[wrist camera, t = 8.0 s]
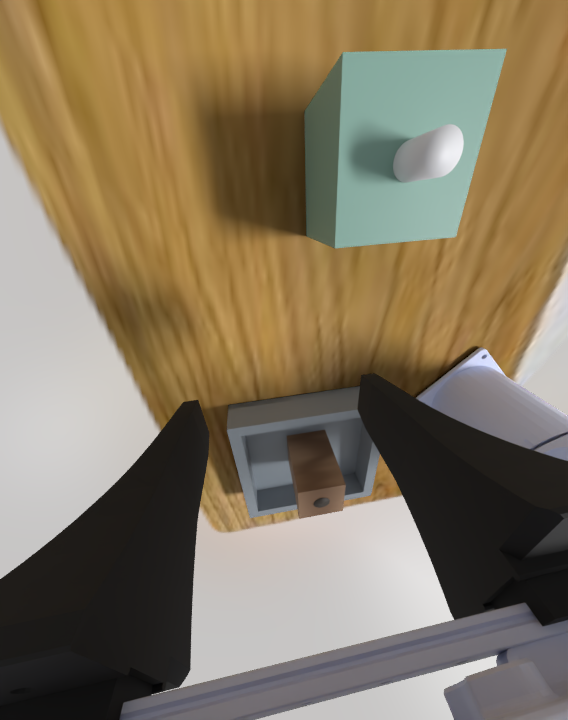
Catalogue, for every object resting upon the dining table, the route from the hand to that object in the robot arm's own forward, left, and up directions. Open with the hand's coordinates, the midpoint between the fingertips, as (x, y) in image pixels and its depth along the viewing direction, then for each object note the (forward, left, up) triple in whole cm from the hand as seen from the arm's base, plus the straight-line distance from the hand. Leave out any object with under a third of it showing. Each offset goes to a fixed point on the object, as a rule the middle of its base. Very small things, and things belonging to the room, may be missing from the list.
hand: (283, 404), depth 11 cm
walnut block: (-12, +8, -9) cm, 17 cm away
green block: (+2, -11, -10) cm, 14 cm away
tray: (-12, +8, -10) cm, 18 cm away
